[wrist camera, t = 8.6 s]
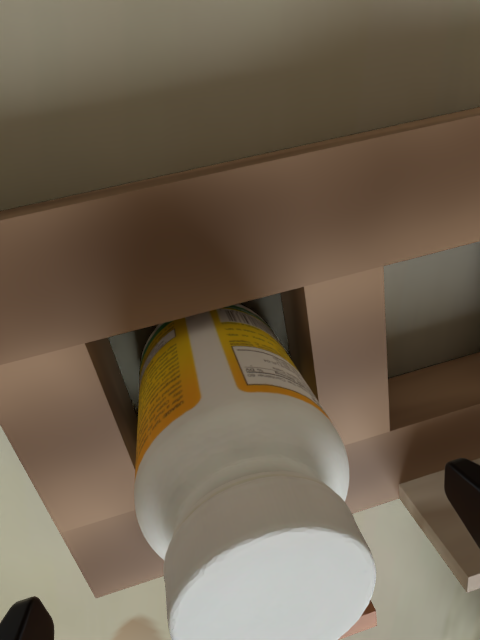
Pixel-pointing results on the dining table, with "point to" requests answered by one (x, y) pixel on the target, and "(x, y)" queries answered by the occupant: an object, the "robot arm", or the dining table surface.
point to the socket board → (233, 288)
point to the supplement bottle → (244, 487)
